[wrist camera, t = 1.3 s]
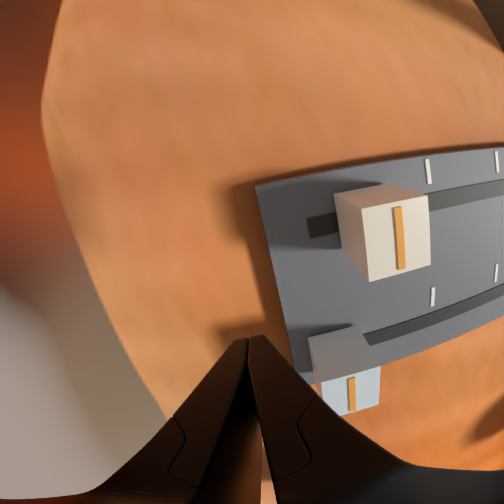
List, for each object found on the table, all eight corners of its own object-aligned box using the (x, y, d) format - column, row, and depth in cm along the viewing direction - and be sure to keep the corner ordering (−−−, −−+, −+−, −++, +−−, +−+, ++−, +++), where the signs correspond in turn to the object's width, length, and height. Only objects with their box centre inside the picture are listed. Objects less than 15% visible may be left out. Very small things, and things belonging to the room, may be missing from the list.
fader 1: (359, 362, 21) (379, 405, 16) (313, 374, 21) (326, 420, 16) (357, 325, 19) (380, 367, 15) (307, 337, 20) (321, 383, 15)
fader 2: (393, 238, 18) (431, 265, 13) (342, 251, 18) (369, 283, 13) (387, 183, 16) (428, 195, 12) (333, 193, 17) (362, 209, 12)
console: (507, 303, 21) (520, 313, 19) (296, 377, 23) (300, 395, 21) (513, 145, 17) (531, 147, 15) (254, 185, 18) (255, 189, 16)
